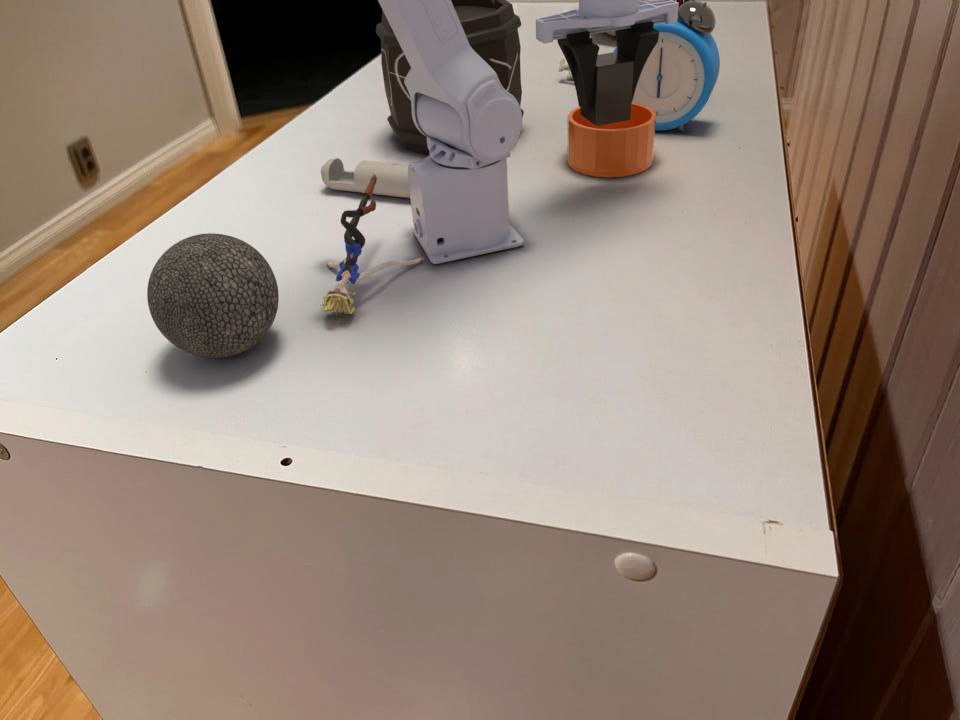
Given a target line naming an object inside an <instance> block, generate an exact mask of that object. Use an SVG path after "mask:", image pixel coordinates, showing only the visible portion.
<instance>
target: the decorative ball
mask: <svg viewBox="0 0 960 720" xmlns="http://www.w3.org/2000/svg"><path fill="white" fill-rule="evenodd" d="M146 290H147V291H146V296H147V297H146V298H147V306H148V310H149V313H150V316H151V318H152V320H153V323H154V324H155V325H154V326H156V328H157V330H158V331H159V332H160V333H161V335H162V337H164V338H165V339H166V340H167V341H168V342H169V343H171V344H172V345H173V346H175V347H176V348H178V349H179V350H181V351H183V352H185V353H187V354H190V355H193V356H196V357H200V358H208V359H222V358H229V357H234V356H236V355H239V354H242V353H244V352H246V351H247V350H249V349H251V348H252V347H254V346H255V345H257V344H258V343H260V341H261V340H263V338H264V337H265V336H266V335H267V333H269V331H270V329H271V328H272V325H273V323H274V322H275V319H276V316H277V313H278V309H279V300H280V299H279V298H280V297H279V296H280V294H279V286H278V282H277V279H276V276H275V273H274V271H273V269H272V267H271V265H270V263H269V262H268V260H267V259H266V258H265V257H264V256H263V254H262V253H261V252H259V251H258V250H257V249H256V248H255V247H254V246H252V245H251V244H249V243H248V242H246V241H244V240H242V239H240V238H237V237H235V236H232V235H229V234H223V233H215V232H211V233H209V232H208V233H199V234H195V235H191V236H188V237H185V238H183V239H180V240H179V241H178V242H176V243H174V244H173V245H172V246H170V247H168V249H166V250H165V251H164V252H163V253H162V254H161V256H160V257H159V258H158V259H157V261H156V262H155V264H154V266H153V268H152V270H151V272H150V275H149V279H148V282H147V289H146Z"/></svg>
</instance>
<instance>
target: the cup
mask: <svg viewBox="0 0 960 720" xmlns="http://www.w3.org/2000/svg"><path fill="white" fill-rule="evenodd" d="M655 129H656V113H655V112H654V110H652V109H651V108H649V107H647V106H644V105H641V104H638V103H631V120H627V121H622V122H616V123H611V124H605V125H600V126H595V125H594V124H592V123H591V122H590V121H588V120H587V119H585V118H584V117H583V116H581V115H580V106H579V105H578V106H576V107H574V108H573V109H572V110H570V111H569V113H568V114H567V155H566V156H567V164H568V166H569V167H570V168H571V169H572V170H573V171H575V172H577V173H580V174H582V175H586V176H589V177H590V176H591V177H597V178H623V177H624V178H625V177H630V176H634V175H638V174H640V173H642V172H644V171H646V170H649V168H651V166H652V164H653V162H654V156H655V143H656V142H655V141H656V131H655Z"/></svg>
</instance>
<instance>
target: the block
mask: <svg viewBox="0 0 960 720" xmlns="http://www.w3.org/2000/svg"><path fill="white" fill-rule="evenodd" d="M633 65H634V61H632V60H630V59H628V58H627V57H625V56H623V55H621V54H619V53H617V52H614V51H612V52H606V53H600V54H599V53H598V56H597V61H596V67H595V74H594V98H593V106H592V110H589V111H586V110H584V109H583V108H581V107H580V115H581V116H583V117H584V118H585V119H587V120H588V121H590V122H591V123H592V124H594V125H595V126H600V125H605V124H611V123H616V122H622V121H627V120H631V102H632V83H633Z"/></svg>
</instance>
